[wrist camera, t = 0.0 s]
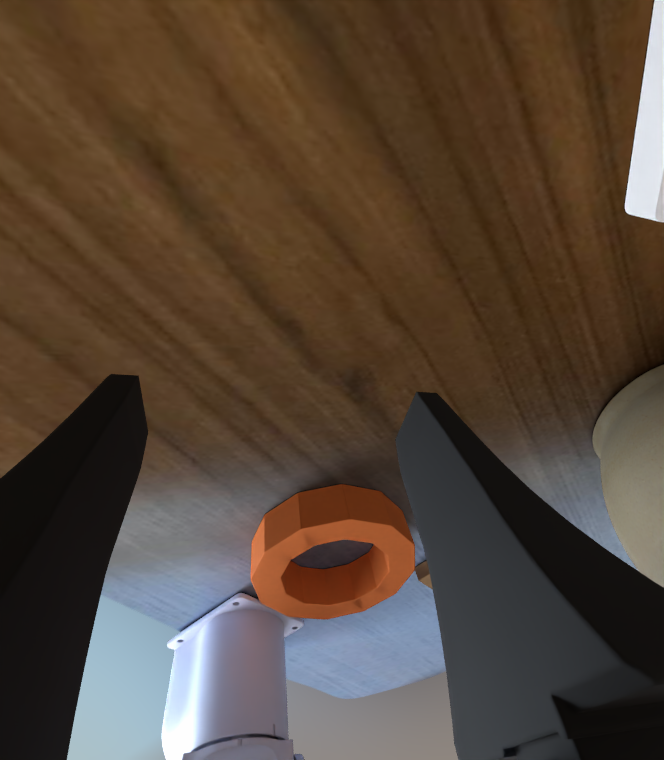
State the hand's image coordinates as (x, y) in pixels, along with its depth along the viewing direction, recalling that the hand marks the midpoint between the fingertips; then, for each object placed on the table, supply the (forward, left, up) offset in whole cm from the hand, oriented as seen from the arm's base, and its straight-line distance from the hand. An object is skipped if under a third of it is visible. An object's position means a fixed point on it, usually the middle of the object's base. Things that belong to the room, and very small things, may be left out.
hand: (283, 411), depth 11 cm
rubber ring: (-11, -17, -11) cm, 23 cm away
